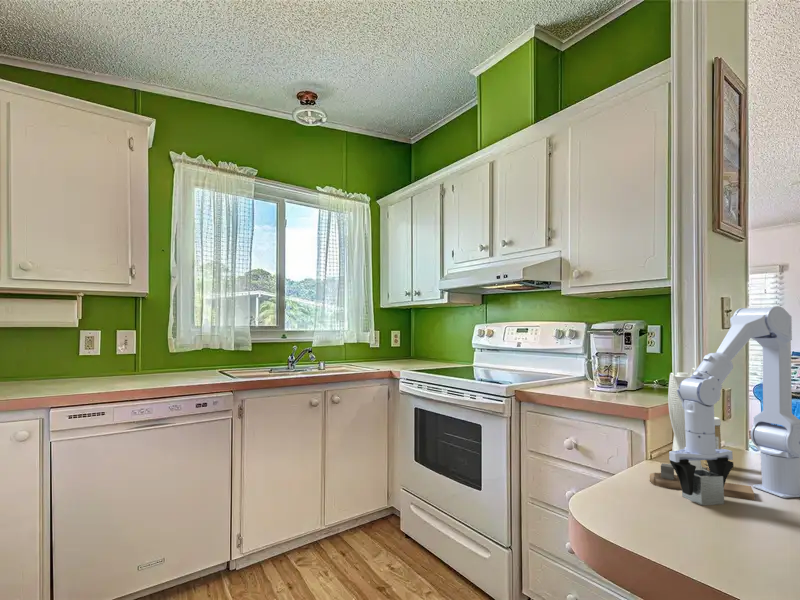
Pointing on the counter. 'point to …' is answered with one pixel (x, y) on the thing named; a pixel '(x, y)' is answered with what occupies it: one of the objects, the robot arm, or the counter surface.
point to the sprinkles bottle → (716, 435)
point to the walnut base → (672, 482)
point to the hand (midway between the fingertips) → (702, 492)
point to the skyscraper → (679, 414)
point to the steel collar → (706, 488)
